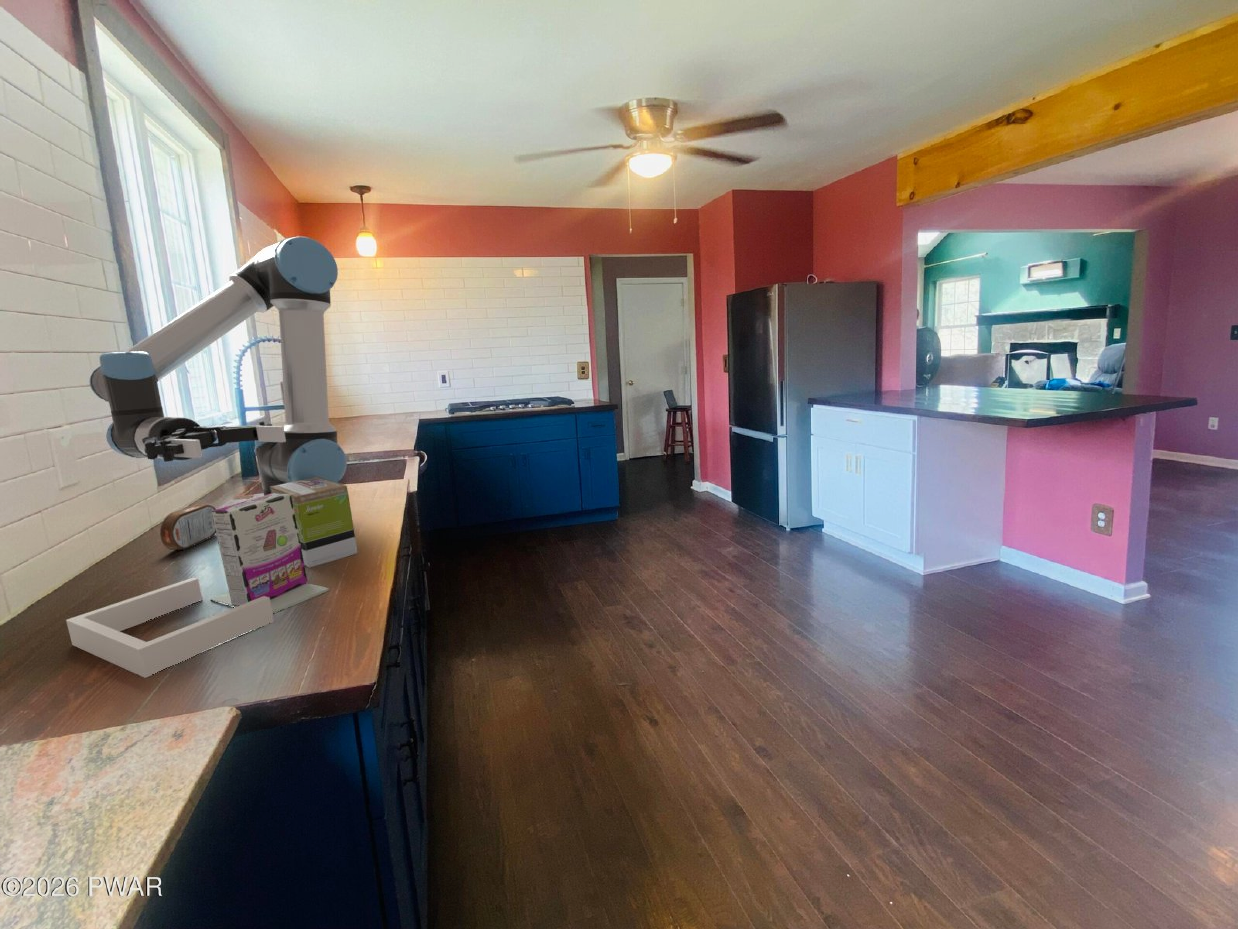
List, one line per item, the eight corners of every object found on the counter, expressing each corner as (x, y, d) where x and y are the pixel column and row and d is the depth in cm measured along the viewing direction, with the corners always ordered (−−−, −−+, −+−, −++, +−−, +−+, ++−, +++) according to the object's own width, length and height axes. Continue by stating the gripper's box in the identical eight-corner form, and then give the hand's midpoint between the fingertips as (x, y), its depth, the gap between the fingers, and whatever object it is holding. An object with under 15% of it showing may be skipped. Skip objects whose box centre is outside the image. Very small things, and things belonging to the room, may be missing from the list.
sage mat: (274, 577, 110) (273, 575, 110) (328, 590, 103) (328, 588, 102) (210, 601, 101) (210, 598, 101) (265, 617, 93) (265, 614, 93)
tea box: (280, 554, 124) (268, 485, 121) (329, 540, 131) (319, 475, 128) (307, 569, 114) (295, 494, 111) (359, 554, 121) (349, 483, 118)
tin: (211, 533, 142) (205, 499, 141) (224, 533, 142) (217, 499, 140) (162, 555, 127) (154, 518, 126) (177, 555, 127) (168, 517, 126)
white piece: (198, 599, 102) (193, 577, 101) (274, 621, 91) (269, 597, 90) (72, 645, 87) (65, 619, 87) (145, 678, 77) (138, 649, 76)
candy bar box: (288, 580, 107) (272, 492, 104) (308, 582, 106) (293, 493, 102) (228, 606, 97) (209, 509, 94) (250, 609, 95) (231, 511, 92)
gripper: (245, 446, 118) (315, 449, 108) (91, 474, 96) (162, 481, 87) (238, 408, 116) (308, 408, 107) (80, 428, 95) (150, 430, 85)
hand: (243, 441), depth 97 cm, fingers open, 13 cm apart
